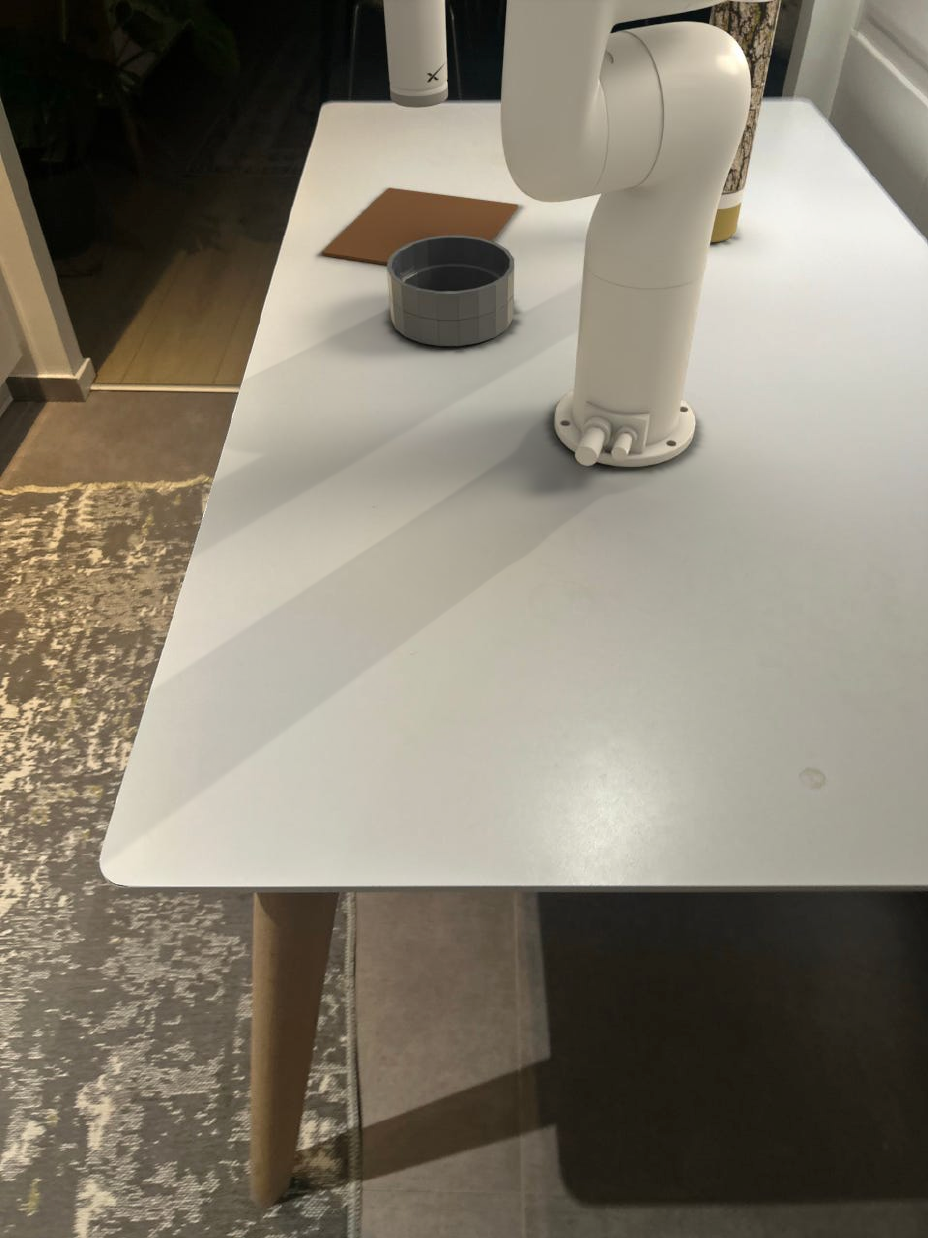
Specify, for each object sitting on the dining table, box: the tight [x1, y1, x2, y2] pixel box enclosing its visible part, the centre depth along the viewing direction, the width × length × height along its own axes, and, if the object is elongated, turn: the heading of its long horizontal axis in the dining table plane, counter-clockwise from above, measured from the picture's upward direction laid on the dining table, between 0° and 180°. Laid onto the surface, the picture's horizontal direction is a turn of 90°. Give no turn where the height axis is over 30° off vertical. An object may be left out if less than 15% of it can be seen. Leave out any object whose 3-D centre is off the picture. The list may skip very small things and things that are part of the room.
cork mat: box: [321, 187, 519, 266], centre depth 113 cm, size 20×18×1 cm
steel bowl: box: [386, 235, 515, 347], centre depth 96 cm, size 13×13×6 cm
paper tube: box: [708, 0, 782, 243], centre depth 102 cm, size 7×7×25 cm
